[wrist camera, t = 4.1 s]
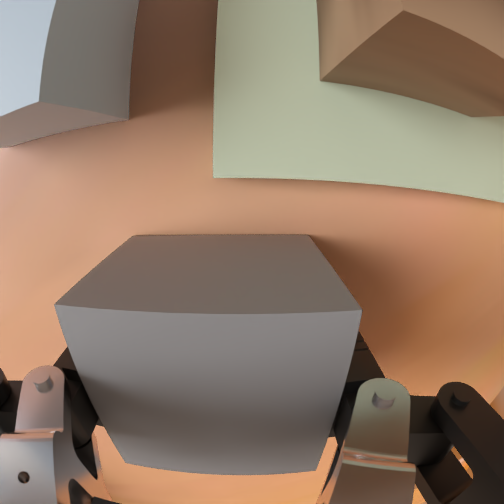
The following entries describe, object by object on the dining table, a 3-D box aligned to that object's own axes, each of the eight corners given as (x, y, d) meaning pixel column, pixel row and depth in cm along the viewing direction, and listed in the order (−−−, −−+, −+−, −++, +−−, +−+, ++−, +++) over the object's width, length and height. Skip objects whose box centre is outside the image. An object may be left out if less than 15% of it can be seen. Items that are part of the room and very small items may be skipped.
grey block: (132, 235, 10) (53, 304, 5) (308, 234, 10) (362, 310, 5) (156, 369, 12) (125, 463, 7) (295, 372, 12) (315, 470, 7)
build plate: (228, -84, 5) (227, -97, 4) (471, -21, 5) (481, -26, 5) (216, 175, 9) (212, 178, 8) (495, 199, 9) (510, 204, 8)
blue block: (25, 24, 6) (-46, -1, 2) (143, -19, 6) (93, -90, 2) (11, 147, 8) (-78, 160, 4) (130, 120, 8) (38, 101, 4)
